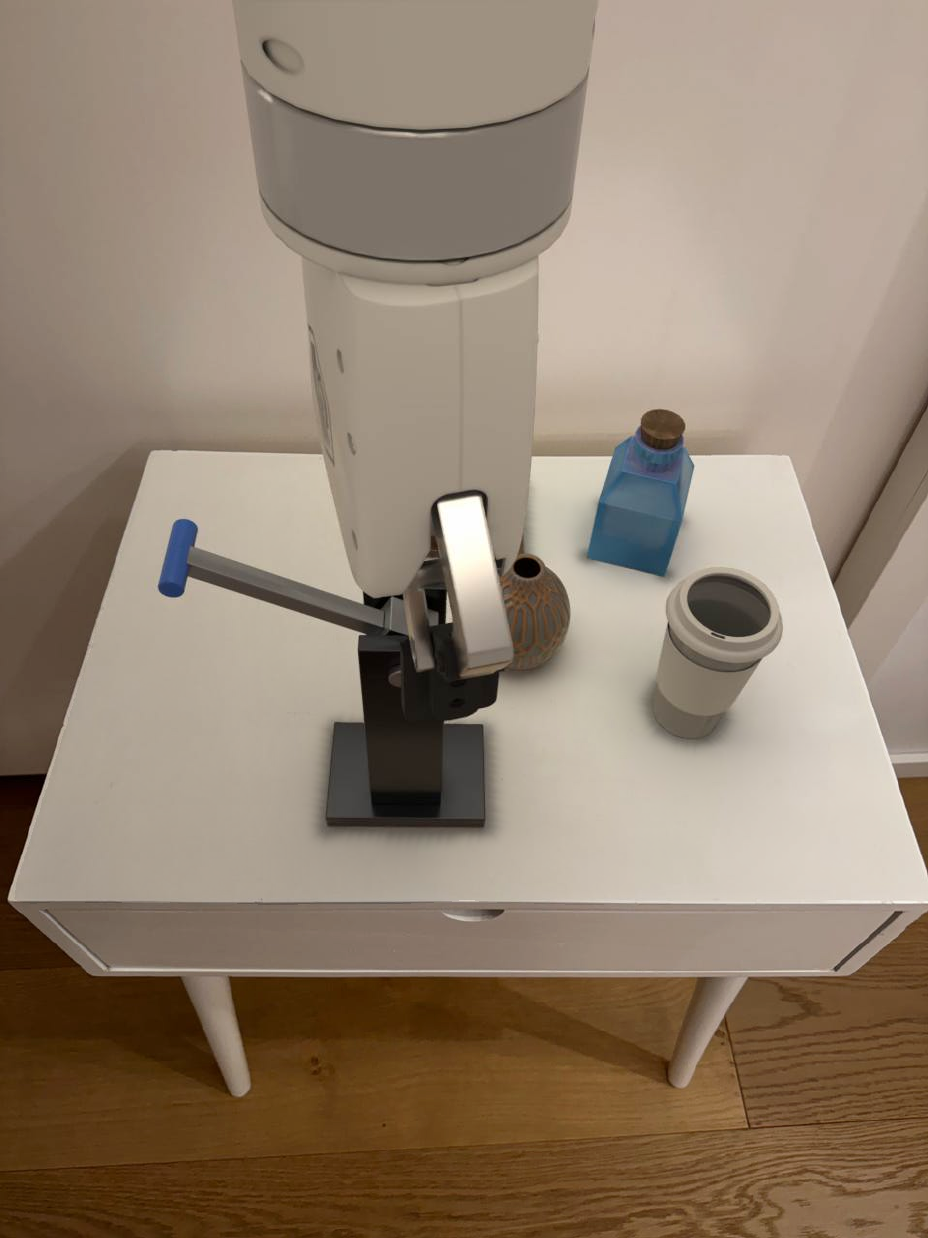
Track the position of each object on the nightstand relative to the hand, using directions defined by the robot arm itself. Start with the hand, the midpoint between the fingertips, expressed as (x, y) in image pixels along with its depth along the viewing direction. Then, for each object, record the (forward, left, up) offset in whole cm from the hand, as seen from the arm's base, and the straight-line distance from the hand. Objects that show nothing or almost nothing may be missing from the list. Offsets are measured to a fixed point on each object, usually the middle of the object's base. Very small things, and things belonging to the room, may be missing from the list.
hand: (418, 599), depth 36 cm
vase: (+11, +16, -28) cm, 35 cm away
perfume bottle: (+23, +24, -28) cm, 44 cm away
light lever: (-4, +9, -11) cm, 15 cm away
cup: (+21, +8, -28) cm, 36 cm away
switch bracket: (+1, +8, -28) cm, 29 cm away
